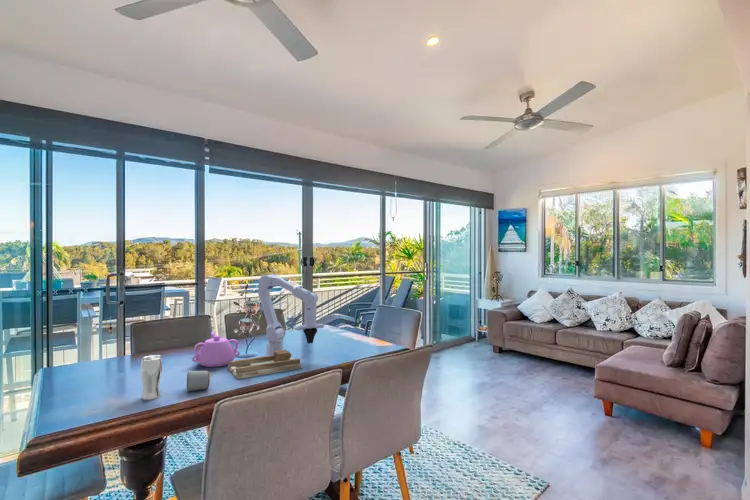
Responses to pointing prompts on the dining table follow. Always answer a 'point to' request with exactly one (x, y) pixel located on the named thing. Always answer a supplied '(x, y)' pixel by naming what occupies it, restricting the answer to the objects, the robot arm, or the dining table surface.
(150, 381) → the beer glass
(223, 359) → the purple sugar bowl
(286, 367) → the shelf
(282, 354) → the walnut block
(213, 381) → the dining table surface
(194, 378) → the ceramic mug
